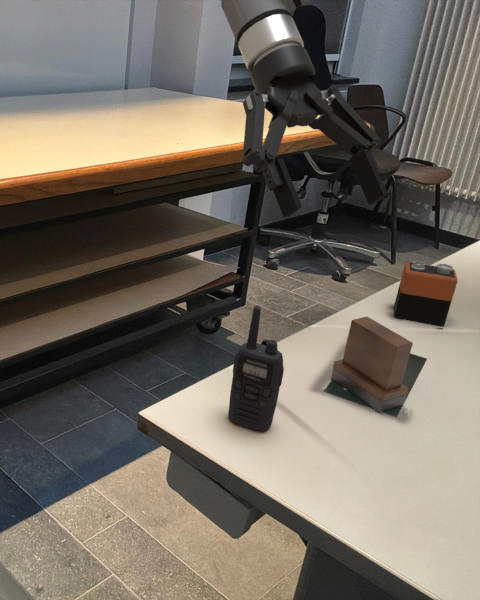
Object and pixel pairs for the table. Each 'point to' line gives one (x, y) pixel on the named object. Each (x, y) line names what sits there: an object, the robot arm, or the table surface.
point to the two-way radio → (255, 380)
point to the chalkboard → (409, 379)
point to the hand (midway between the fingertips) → (337, 206)
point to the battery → (425, 293)
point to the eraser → (374, 364)
